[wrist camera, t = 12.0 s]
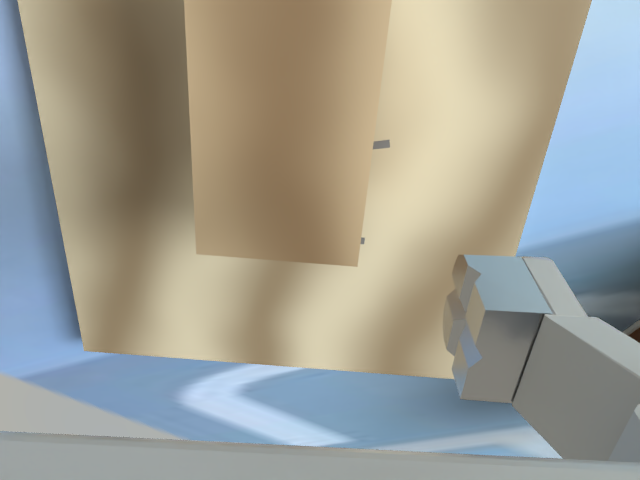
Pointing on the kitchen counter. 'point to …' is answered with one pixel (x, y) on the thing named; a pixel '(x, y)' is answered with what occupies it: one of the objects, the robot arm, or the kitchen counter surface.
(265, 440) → the kitchen counter surface
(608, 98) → the kitchen counter surface
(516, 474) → the robot arm
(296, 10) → the block
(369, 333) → the board
